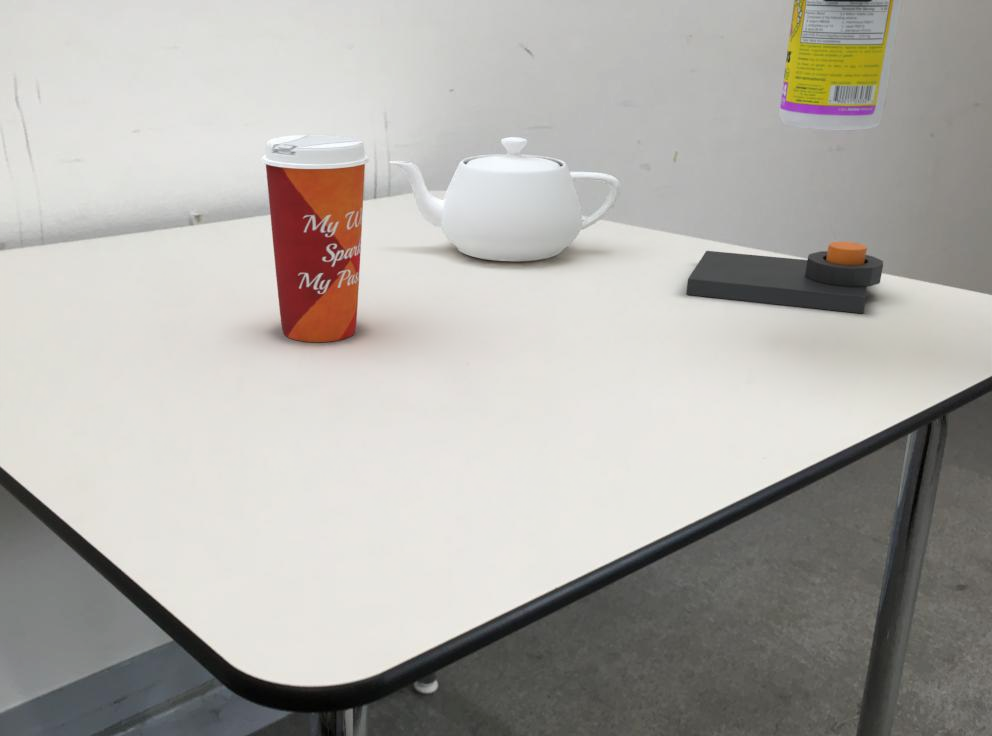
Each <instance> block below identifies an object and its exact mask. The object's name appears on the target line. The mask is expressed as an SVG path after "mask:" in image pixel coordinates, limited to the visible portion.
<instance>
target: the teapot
mask: <svg viewBox="0 0 992 736" xmlns="http://www.w3.org/2000/svg"><path fill="white" fill-rule="evenodd" d="M500 143H501V145H502V146H503V147H504V149H506V153H498V154H496V153H494V154H482V155H474V156H470V157H469V156H468V157H466V158H463V159H462V160H461V161H459V163H458V165H457V167H456V170H455V172H453V173H454V174H453V176H452V177H451V180H450V182H449V184H448V186H447V188H446V191H445V194H444V196H443V199H441V198H438V197H436V196H433V195H432V194H431V192H430V191H429V189H428V187H427V185H426V182H425V180H424V179H425V178H424V176H423V174H422V171H421V170H420V168H419V167H418V166H417V165H416V164H415V163H414V162H410V161H402V160H401V161H400V160H391V161H388V163H389V164H391V165H393V166H395V167H396V168H398V169H399V170H400V171H402V172H403V173H404V174H405V176H406V177H407V180H408V181H409V184H410V186H411V189H412V193H413V197H414V200H415V203H416V206H417V208H418V211H419V212H420V214H421V215H422V217H423V218H424V219H425V221H427V222H429V223H430V224H431V225H433V226H434V227H437V228H440V229H441V231H442V233H443V235H444V236H445V238H446V239H447V240H448V242H450V243H451V244H452V245H453V246H455V247H456V249H457V250H458V251H459V252H460V253H462V254H464V255H467V256H469V257H473V258H477V259H482V260H489V261H495V262H497V261H498V262H531V261H532V262H533V261H540V260H546V259H550V258H553V257H556V256H558V255H559V254H561V253H562V252H563V250H564V249H566V248H567V247H569V246H570V245H571V244H572V243H573V242H574V241H576V238H577V237H578V236H579V235H580V232H581V231H584V230H585V229H587V228H589V227H591V226H592V225H595V224H597V222H599V221H600V220H601V219H604V217H606V216H607V215H608V214H609V213H610V212H611V211H612V209H613V208H615V206H616V204H617V202H618V200H619V197H620V194H621V183H620V181H619V179H618V178H617V177H615V176H613V175H611V174H608V173H603V172H592V171H570V169H569V166H568V164H567V163H566V162H564V160H561V159H558V158H555V157H551V156H543V155H536V154H535V155H534V154H521V151H522V150H523V149H524V147H526V146H527V144H528V139H526V138H524V137H518V136H509V137H504V138H502V139H501V140H500ZM574 181H575V182H576V181H577V182H578V181H579V182H581V181H582V182H584V181H585V182H597V183H598V182H599V183H604V184H607V186H608V193H607V195H606V198H605V199H604V201H603V203H602V204H601V205H600V206H599V207H598V209H596V210H595V211H594V212H593V213H592V214H590V215H589V216H587V217H585V218H583V213H582V206H581V202H580V197H579V194H578V190H577V187H576V185H575V182H574Z"/></svg>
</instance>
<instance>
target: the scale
mask: <svg viewBox="0 0 992 736" xmlns="http://www.w3.org/2000/svg"><path fill="white" fill-rule="evenodd" d="M827 251H828V250H822V251H816V252H812V253H808V256H807V259H799V258H789V257H779V256H770V255H769V256H768V255H757V254H747V253H745V254H744V253H736V252H725V251H715V250H705V252H704V254H703V255H702V256H701V259H699V261H698V263H697V264H696V266H695V267H694V269H693V271H691V274H690V275H689V276H688V278H687V284H686V292H685V295H687V296H696V297H706V298H715V299H723V300H724V299H725V300H733V301H734V300H735V301H744V302H753V303H760V304H761V303H762V304H771V305H781V306H790V307H799V308H808V309H818V310H827V311H835V312H847V313H855V314H864V313H865V307H866V301H867V296H868V295H867V293H868V291H867V290H868V287H872V286H876V285H880V283H881V278H882V274H883V268H884V261H883V260H882V259H880V258H877V257H876V256H872V255H869V254H866V256H865V261H864V264H859V265H847V264H838V263H833V262H829V261H826V257H827Z"/></svg>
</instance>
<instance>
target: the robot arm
mask: <svg viewBox="0 0 992 736" xmlns="http://www.w3.org/2000/svg"><path fill="white" fill-rule="evenodd" d="M823 1H835V2H870V1H872V0H823Z"/></svg>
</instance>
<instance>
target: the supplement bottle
mask: <svg viewBox="0 0 992 736" xmlns="http://www.w3.org/2000/svg"><path fill="white" fill-rule="evenodd" d="M902 4H903V0H872V1H870V2H835V1H823V0H793V7H792V15H791V23H790V30H789V38H788V44H787V52H786V59H785V68H784V74H783V75H784V76H783V84H782V89H781V90H782V91H781V98H780V107H779V119H780V121H781V122H782V123H783V124H784V125H786V126H788V127H792V128H796V129H802V130H803V129H805V130H819V131H820V130H821V131H831V132H833V131H834V132H837V131H838V132H850V131H862V130H868V129H873V128H875V127H877V126H879V125H880V123H881V122H882V120H883V116H884V112H885V106H886V102H887V101H886V100H887V95H888V89H889V83H890V77H891V71H892V64H893V58H894V51H895V46H896V41H897V34H898V29H899V21H900V16H901V9H902Z"/></svg>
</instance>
